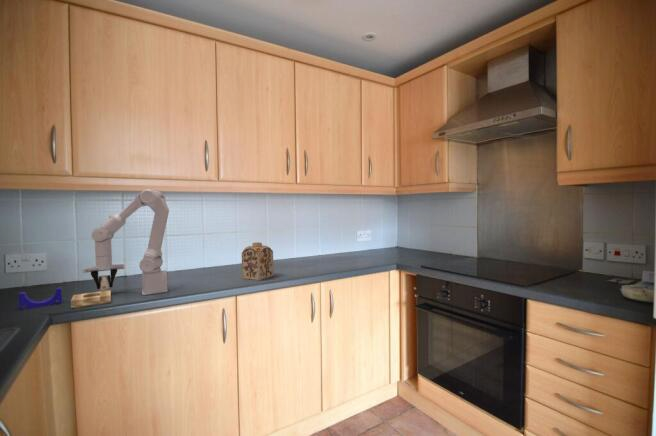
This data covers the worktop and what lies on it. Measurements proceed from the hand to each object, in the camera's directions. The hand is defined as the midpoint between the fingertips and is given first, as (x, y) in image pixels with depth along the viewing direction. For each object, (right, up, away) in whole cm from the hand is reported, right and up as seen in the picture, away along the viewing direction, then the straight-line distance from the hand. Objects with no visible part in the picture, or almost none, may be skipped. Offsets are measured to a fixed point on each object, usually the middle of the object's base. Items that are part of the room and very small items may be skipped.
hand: (105, 287), depth 139 cm
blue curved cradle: (-15, -4, -14) cm, 21 cm away
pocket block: (+3, -3, -12) cm, 13 cm away
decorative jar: (+59, -1, +29) cm, 66 cm away
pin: (0, -3, 0) cm, 3 cm away
